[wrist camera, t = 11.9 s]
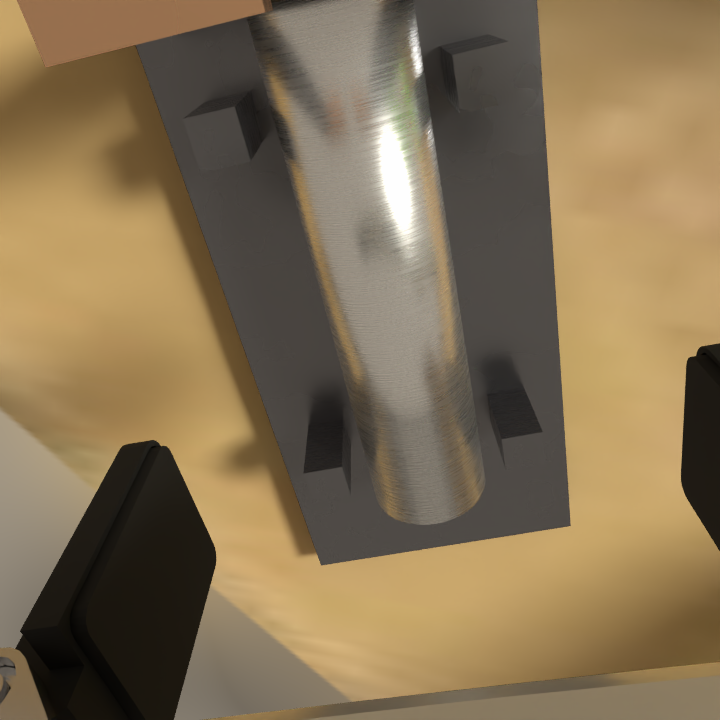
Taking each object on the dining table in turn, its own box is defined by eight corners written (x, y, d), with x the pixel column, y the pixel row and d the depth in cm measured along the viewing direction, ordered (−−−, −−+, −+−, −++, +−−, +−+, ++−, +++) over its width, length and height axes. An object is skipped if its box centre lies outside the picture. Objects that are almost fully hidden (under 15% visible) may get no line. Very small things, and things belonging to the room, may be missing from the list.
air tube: (227, -98, 17) (190, -122, 13) (387, -142, 17) (397, -180, 13) (373, 457, 27) (375, 535, 23) (476, 439, 27) (497, 515, 23)
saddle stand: (508, -265, 17) (690, -563, 8) (563, 507, 30) (650, 723, 22) (82, -143, 18) (-194, -276, 9) (322, 546, 32) (309, 766, 23)
